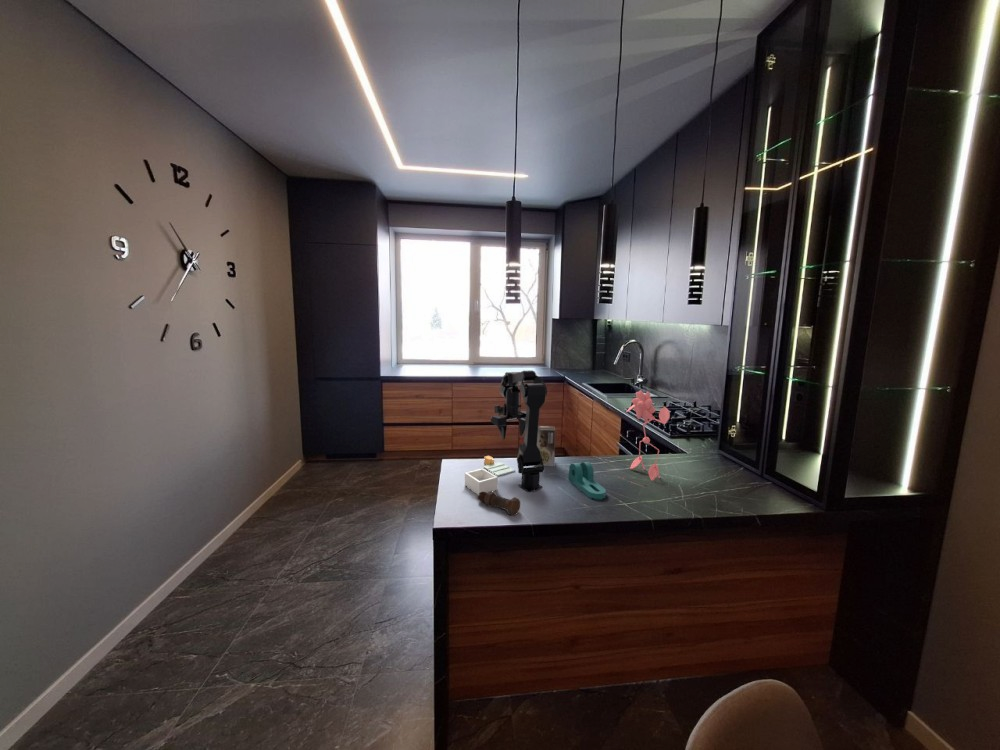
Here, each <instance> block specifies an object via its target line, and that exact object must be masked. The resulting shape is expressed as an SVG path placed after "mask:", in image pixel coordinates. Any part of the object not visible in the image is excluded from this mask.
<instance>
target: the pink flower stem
mask: <svg viewBox="0 0 1000 750" xmlns="http://www.w3.org/2000/svg"><path fill="white" fill-rule="evenodd" d="M631 403H632V405H631V406H630V407H629V408H628V409H627V410H626V411H625V413H628V412H631V410H634V412H635V415H636V418H637V420H640V419H642V420H643V421H644V423H643V424H642V428H643V433H644V437H643V438H642V440H640V441H639V445H638V446H639V449H638V457H636V458H635V459H634V460H633V462H632V463H631V464H630V468H629V469H630V470H633V469H635V468H637V467H638V466H639V465H640V464H641V466H642V468H643V470H644V471H645V470H646V468H645V465H644V463H643V457H642V455H641V443H642V442H643V443H644V444H648V445H650V446H651V447H653V448H654V449H655V450H657V454H656V458H655V462H654V463H653V464H651V465H650V466H649V469H648V477H649V479H650V480H651V482H653V481H654V480H655V479H657V478H658V479H661V477H660V471H659V466H658V465H657V462H658V457H659V453H660V449H659V448H657V447H656V446H654V445H653V444H652V443H650V441H651V439H650V438H649V436H647V434H646V433H647V432H646V429H645V425H646V424H648V423H650V422H651V421H656V422H658V423H661V424H662V425H664V426H665V425H666V424H667V422H668V421H669V420H670V415H671V414H670V410H669V408H667V407H666V406H663V408H660V411H659V412H658V418H659V419H656V417H655V416H653V414H654V413H655V412H656V408H655V407H654V406H653V400H652V399H651V394H650V391H646V393H644V392H643V390H641V389H640V390H639V391H636V392H635V398H633V399H632V400H631ZM621 478H622V479H623V480H626V481H628V482H629V480H628V479H626V478H624V477H623V476H621ZM631 483H632V484H634V485H638V486H639V485H640V486H642V484H641V483H636V482H633V481H631ZM643 486H645V487H647V485H645V484H643Z"/></svg>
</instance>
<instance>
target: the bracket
mask: <svg viewBox="0 0 1000 750" xmlns="http://www.w3.org/2000/svg"><path fill="white" fill-rule="evenodd" d="M568 480H569V482H570V483H572V484H573V485H574V486H575V487H577V489H579V490H580V491H581V492H582V493H583V494H584V495H585V496H587V497H588V498H590V499H592V498H594V499H593V500H603V498H604V499H605V498H606V496H607V495H606V494H607V490H606V489H605V487H603V486H602V485H600V484H599V483H598V482H597V481H596V480H594V467H593V465H592V463H591V462H590V461H584V462H580V463H579V462H574V463H573V462H572V463H571V464H570V465H569V468H568Z"/></svg>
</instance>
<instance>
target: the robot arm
mask: <svg viewBox="0 0 1000 750" xmlns="http://www.w3.org/2000/svg"><path fill="white" fill-rule="evenodd" d="M502 376H503V377H502V379H501V382H500V385H501V386H500V388H499V393H500V395H501V396H502V397H503V398H505V402H504V403H503V406H501V405H496V406H494V408H493V411H494V413H495V414H496V415H493V416H491V417H490V423H491V424H493V425H494V426H497V429H498V430H499V434H500V435H501V438H502V440H505V439H506V435H507V428H508V427H507V426H508V425H507V422H509V421H510V422H511V421H514V420H515V421H516V420H518V424H519V426H518V427H519V428H518V429H519V430H518V433H519V436H520V437H522V436H523V435H524V436H523V437H524V438H523V443H521V444H519V445H518V454H517V456H516V462H517V469H518V470H517V472H518V474H521V483H519V484H518V487H520V488H522V489H523V490H525V491H527V492H529V493H531V492H534V491H537V490H540V489H543V486H542V485H540V477H541V476H540V473H544V471H545V466H544V465H543V461H542V457H541V452H540V450H539V449H538V447H537V437H538V426H539V422H540V412H541V408H542V406H543V405H544V404H545V403H546V397H547V395H548V388H547V386H546V384H545V382H544V380H543V379H542V378H541V377H539V375H537V373H536V371H534V370H533V369H532V370H522V371H510V372H509V371H508V372H507V371H506V372H505V373H504V375H502ZM525 382H532V383H525ZM520 393H521V394H520ZM520 395H521V396H522V400H523V402H524V404H525V406H526V410H522V411H520V408H522V404H520V402H521V401H520V399H521V397H520ZM536 465H538V466H536Z"/></svg>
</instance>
